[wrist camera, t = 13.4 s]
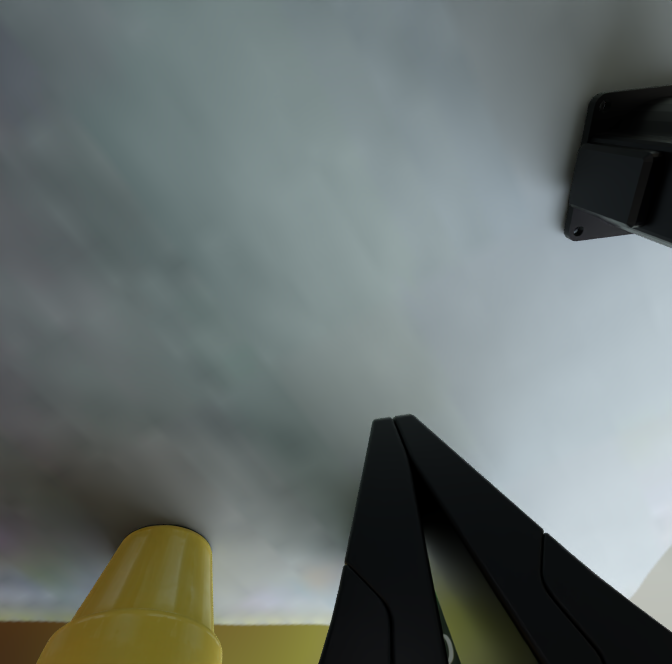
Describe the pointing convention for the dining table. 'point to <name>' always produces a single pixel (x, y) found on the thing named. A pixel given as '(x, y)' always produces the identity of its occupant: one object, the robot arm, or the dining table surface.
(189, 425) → the dining table surface
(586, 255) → the dining table surface
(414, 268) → the dining table surface
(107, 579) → the plant pot
